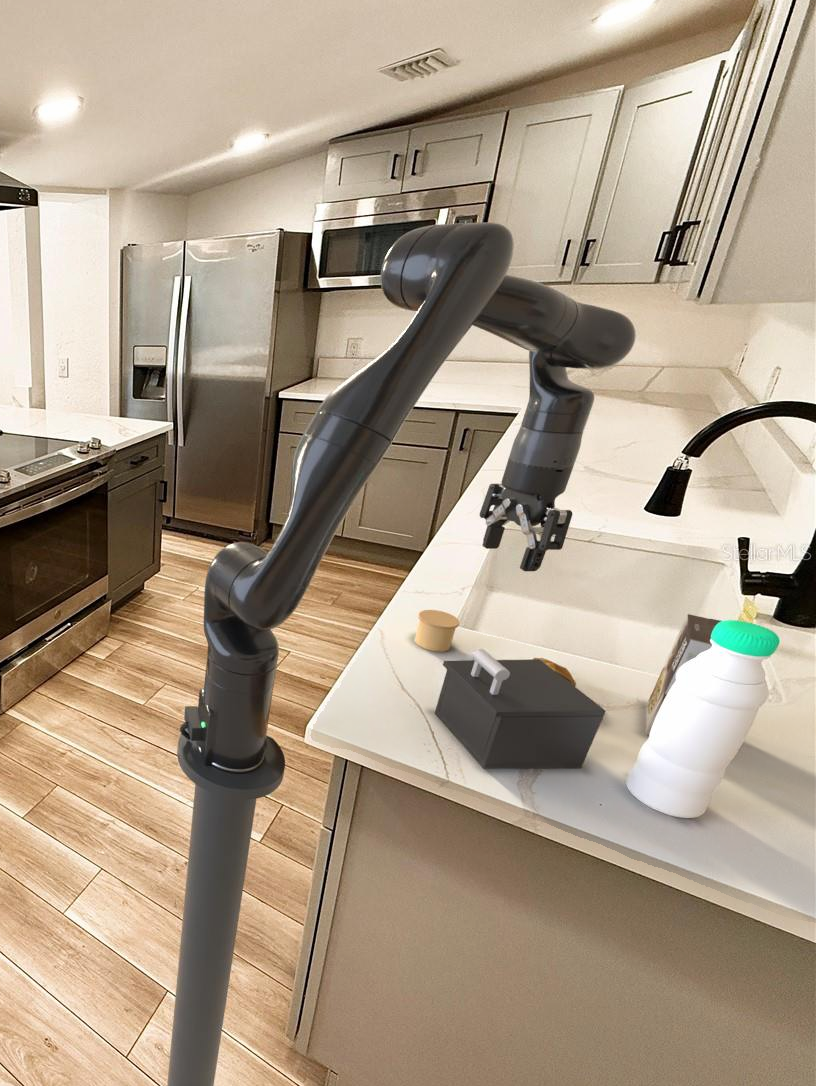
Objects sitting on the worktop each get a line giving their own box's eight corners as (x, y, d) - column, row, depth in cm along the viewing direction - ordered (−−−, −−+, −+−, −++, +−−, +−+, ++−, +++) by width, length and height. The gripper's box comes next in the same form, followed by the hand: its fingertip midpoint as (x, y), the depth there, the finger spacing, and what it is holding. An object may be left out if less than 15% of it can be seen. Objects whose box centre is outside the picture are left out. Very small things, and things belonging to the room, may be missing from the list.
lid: (495, 716, 79) (505, 685, 77) (442, 665, 90) (450, 636, 88) (604, 715, 78) (618, 683, 76) (538, 663, 89) (548, 634, 87)
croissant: (509, 662, 104) (518, 637, 102) (560, 672, 101) (570, 646, 99) (526, 709, 93) (535, 682, 91) (583, 721, 90) (595, 693, 88)
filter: (424, 653, 108) (430, 627, 105) (405, 634, 113) (412, 610, 111) (459, 652, 107) (467, 626, 105) (439, 634, 113) (446, 609, 110)
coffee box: (709, 755, 83) (762, 656, 76) (643, 734, 87) (689, 638, 80) (706, 721, 89) (755, 626, 82) (644, 703, 93) (687, 611, 86)
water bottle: (700, 795, 77) (793, 624, 67) (705, 831, 72) (806, 653, 62) (623, 769, 81) (700, 606, 71) (624, 801, 77) (705, 631, 66)
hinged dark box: (483, 768, 83) (501, 717, 79) (434, 713, 93) (448, 665, 90) (581, 768, 82) (604, 716, 78) (520, 712, 92) (537, 664, 89)
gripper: (482, 447, 96) (455, 541, 103) (552, 472, 83) (516, 579, 90) (531, 446, 96) (501, 541, 103) (609, 472, 83) (568, 578, 90)
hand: (508, 558), depth 96 cm, fingers open, 8 cm apart
